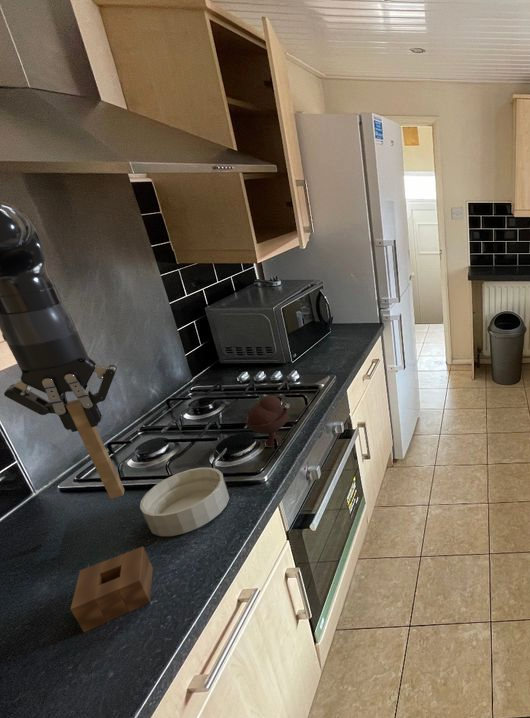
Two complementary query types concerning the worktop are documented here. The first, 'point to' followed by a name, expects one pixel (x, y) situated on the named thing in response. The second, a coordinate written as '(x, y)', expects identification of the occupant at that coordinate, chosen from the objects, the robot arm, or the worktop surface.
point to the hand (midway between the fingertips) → (85, 426)
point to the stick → (96, 450)
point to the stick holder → (112, 589)
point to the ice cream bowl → (267, 418)
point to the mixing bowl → (184, 501)
